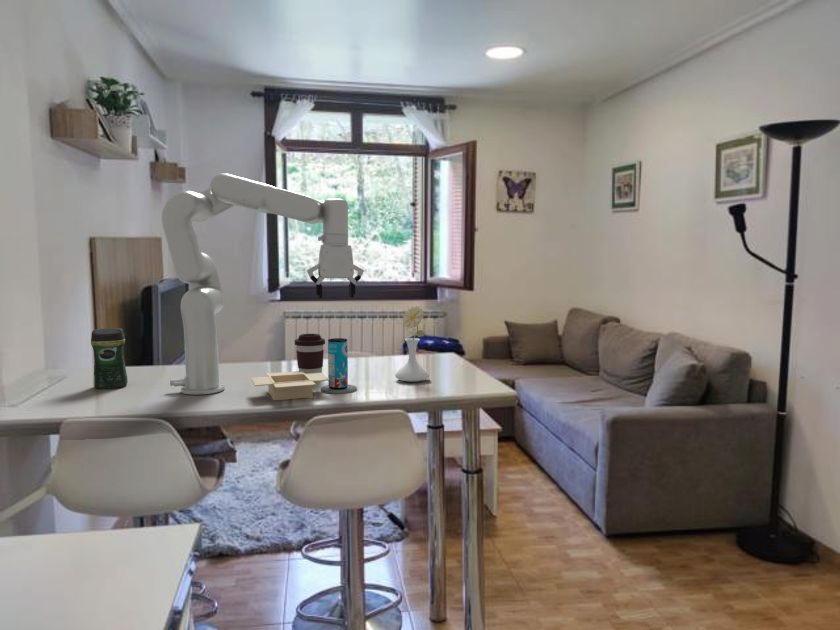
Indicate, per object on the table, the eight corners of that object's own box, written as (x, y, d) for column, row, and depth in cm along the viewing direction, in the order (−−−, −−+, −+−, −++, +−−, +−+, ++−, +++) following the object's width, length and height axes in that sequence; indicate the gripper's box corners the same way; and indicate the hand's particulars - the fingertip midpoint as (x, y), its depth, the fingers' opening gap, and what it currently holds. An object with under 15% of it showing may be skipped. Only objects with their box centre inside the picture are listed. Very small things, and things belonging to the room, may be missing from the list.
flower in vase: (389, 379, 205) (389, 304, 202) (419, 376, 210) (419, 303, 207) (406, 386, 193) (406, 307, 191) (438, 383, 198) (438, 306, 196)
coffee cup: (309, 375, 211) (308, 332, 209) (331, 378, 206) (331, 334, 204) (289, 380, 202) (288, 335, 201) (312, 383, 197) (311, 337, 196)
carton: (257, 406, 168) (257, 388, 168) (249, 390, 188) (249, 374, 188) (333, 399, 176) (333, 382, 176) (318, 384, 196) (317, 369, 195)
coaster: (325, 395, 181) (325, 393, 181) (317, 387, 191) (317, 385, 191) (361, 392, 185) (361, 390, 185) (351, 384, 195) (351, 383, 195)
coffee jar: (128, 383, 199) (126, 326, 197) (126, 388, 191) (123, 329, 190) (95, 385, 195) (92, 327, 194) (91, 390, 188) (88, 330, 186)
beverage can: (344, 390, 185) (344, 341, 183) (325, 389, 186) (325, 340, 184) (350, 386, 191) (349, 338, 189) (332, 385, 192) (331, 338, 190)
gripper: (309, 239, 177) (309, 298, 179) (366, 240, 184) (366, 297, 185) (304, 240, 184) (305, 297, 186) (360, 241, 191) (360, 296, 192)
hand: (335, 297), depth 186 cm, fingers open, 9 cm apart
